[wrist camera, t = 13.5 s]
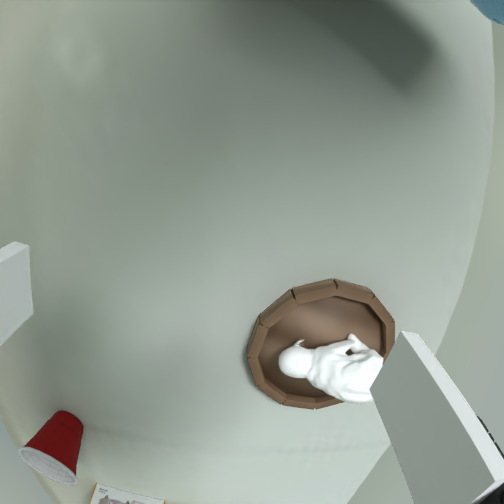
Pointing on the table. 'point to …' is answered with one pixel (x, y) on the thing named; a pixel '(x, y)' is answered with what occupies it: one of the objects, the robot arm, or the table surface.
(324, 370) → the white piece
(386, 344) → the coaster
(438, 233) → the table surface
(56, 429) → the plastic cup
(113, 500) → the packaging box
